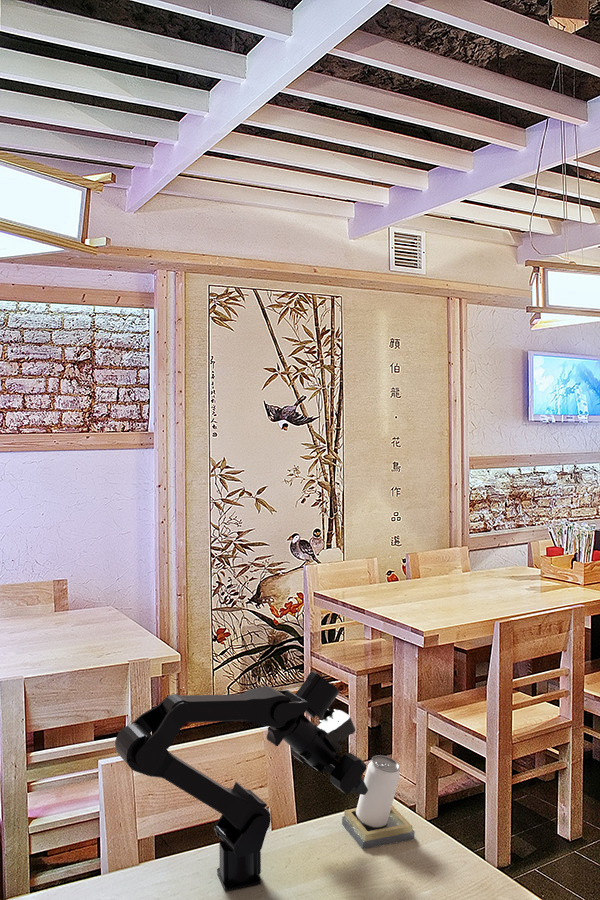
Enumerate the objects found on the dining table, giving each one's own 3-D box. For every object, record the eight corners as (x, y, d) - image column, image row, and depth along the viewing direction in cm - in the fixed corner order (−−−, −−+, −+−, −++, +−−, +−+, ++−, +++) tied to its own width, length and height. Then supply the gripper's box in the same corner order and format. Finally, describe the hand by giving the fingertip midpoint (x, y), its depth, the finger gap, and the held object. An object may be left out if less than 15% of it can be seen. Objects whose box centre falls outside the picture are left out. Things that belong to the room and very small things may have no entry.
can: (392, 829, 148) (407, 773, 147) (362, 829, 146) (377, 772, 145) (379, 807, 155) (393, 754, 153) (350, 807, 152) (364, 753, 151)
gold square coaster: (362, 849, 143) (362, 835, 143) (342, 823, 153) (342, 810, 153) (414, 839, 147) (414, 825, 147) (391, 814, 156) (391, 801, 156)
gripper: (358, 716, 135) (406, 765, 141) (304, 687, 151) (349, 731, 157) (320, 770, 131) (371, 817, 137) (269, 733, 148) (316, 777, 153)
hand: (352, 782), depth 146 cm, fingers open, 9 cm apart
